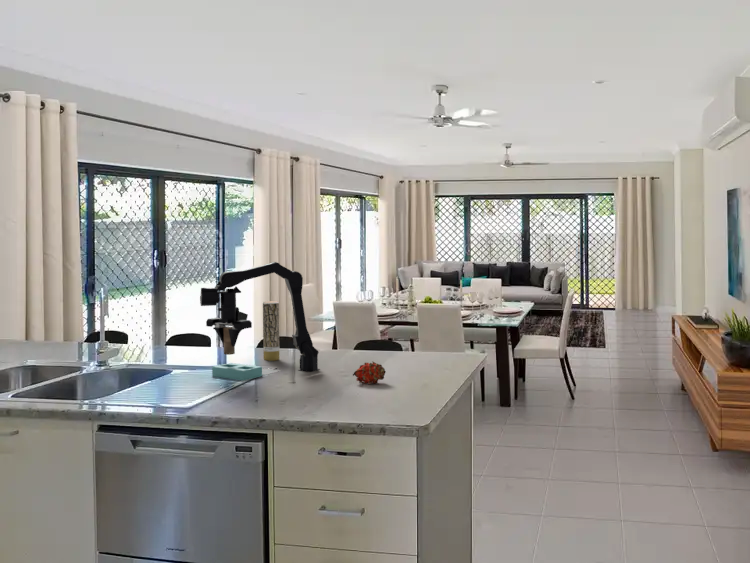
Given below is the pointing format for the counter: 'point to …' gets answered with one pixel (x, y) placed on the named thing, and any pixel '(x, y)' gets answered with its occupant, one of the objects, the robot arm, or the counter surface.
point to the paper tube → (271, 330)
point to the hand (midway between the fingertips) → (229, 346)
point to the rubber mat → (268, 371)
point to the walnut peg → (228, 342)
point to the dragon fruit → (370, 373)
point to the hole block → (237, 371)
